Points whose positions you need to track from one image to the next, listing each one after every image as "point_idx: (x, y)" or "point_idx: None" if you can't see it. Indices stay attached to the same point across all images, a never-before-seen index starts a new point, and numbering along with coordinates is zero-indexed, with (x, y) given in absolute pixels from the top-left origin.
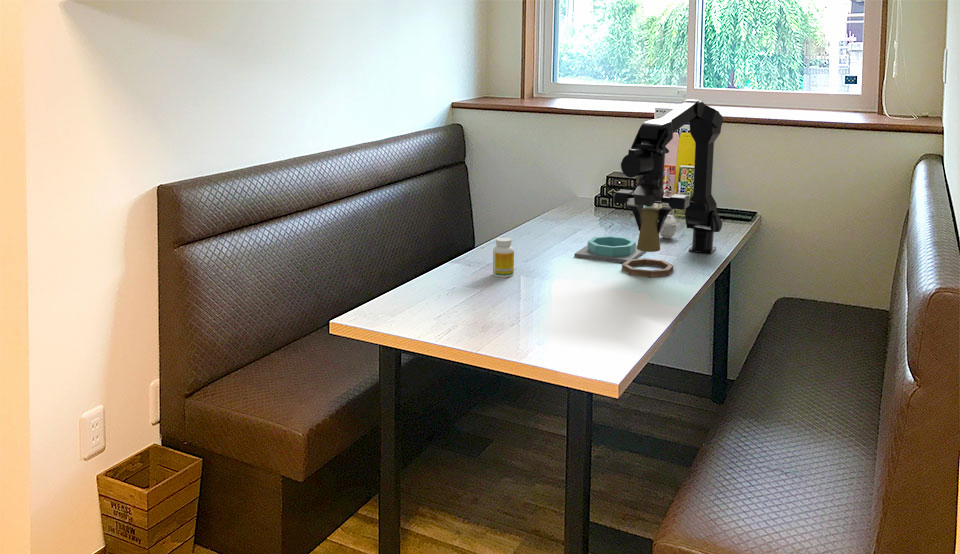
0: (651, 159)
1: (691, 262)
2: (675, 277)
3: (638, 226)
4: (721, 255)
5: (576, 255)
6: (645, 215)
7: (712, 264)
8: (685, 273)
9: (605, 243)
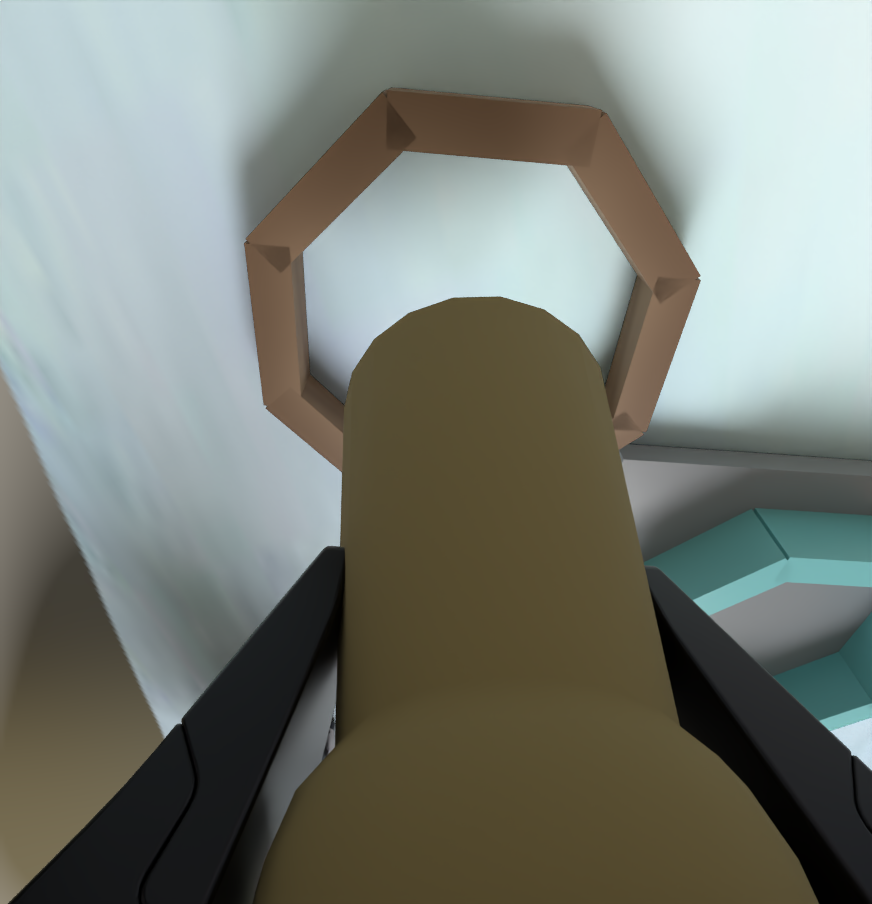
0: None
1: (247, 583)
2: (181, 196)
3: (700, 619)
4: (168, 709)
5: None
6: (672, 865)
7: (124, 584)
8: (167, 349)
9: (789, 686)
